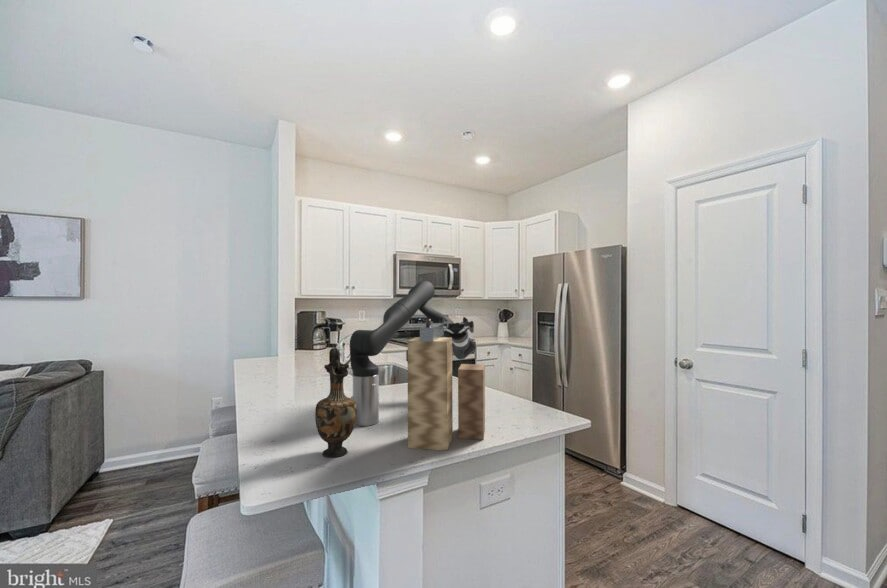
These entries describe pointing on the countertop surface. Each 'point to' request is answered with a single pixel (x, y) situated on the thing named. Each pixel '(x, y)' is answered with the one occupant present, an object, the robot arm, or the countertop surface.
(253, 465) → the countertop surface
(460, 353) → the robot arm
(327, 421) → the vase
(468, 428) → the walnut block
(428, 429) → the oak block
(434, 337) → the tin
